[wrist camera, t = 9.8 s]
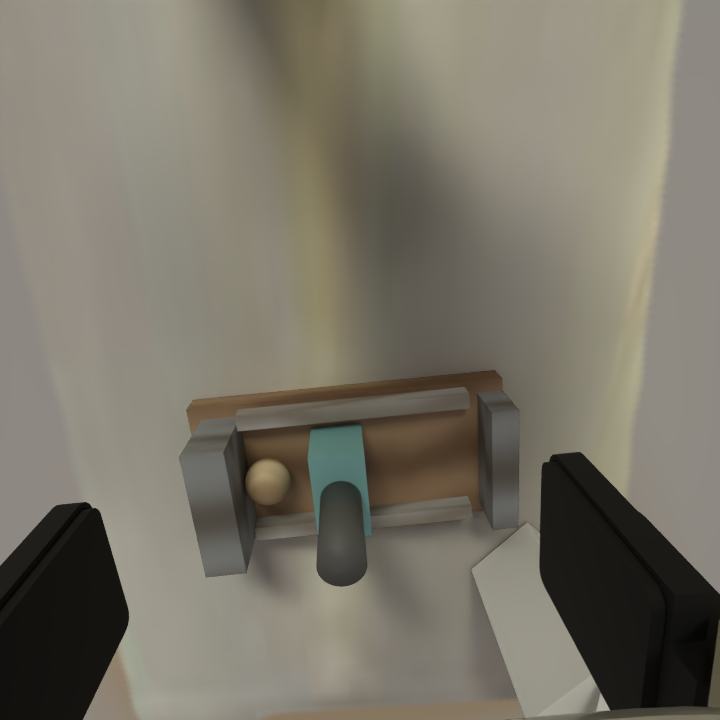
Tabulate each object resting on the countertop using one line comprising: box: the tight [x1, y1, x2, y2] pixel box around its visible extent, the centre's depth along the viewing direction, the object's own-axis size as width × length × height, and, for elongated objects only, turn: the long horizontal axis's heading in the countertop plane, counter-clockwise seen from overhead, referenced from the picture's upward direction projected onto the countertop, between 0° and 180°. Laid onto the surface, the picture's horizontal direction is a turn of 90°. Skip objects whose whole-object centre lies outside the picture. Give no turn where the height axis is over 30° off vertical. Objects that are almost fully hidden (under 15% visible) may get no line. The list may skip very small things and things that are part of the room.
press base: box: [179, 370, 519, 577], centre depth 40 cm, size 12×25×8 cm, turn 95°
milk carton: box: [471, 523, 610, 718], centre depth 39 cm, size 7×7×19 cm
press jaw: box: [308, 423, 372, 586], centre depth 36 cm, size 7×4×12 cm, turn 5°
